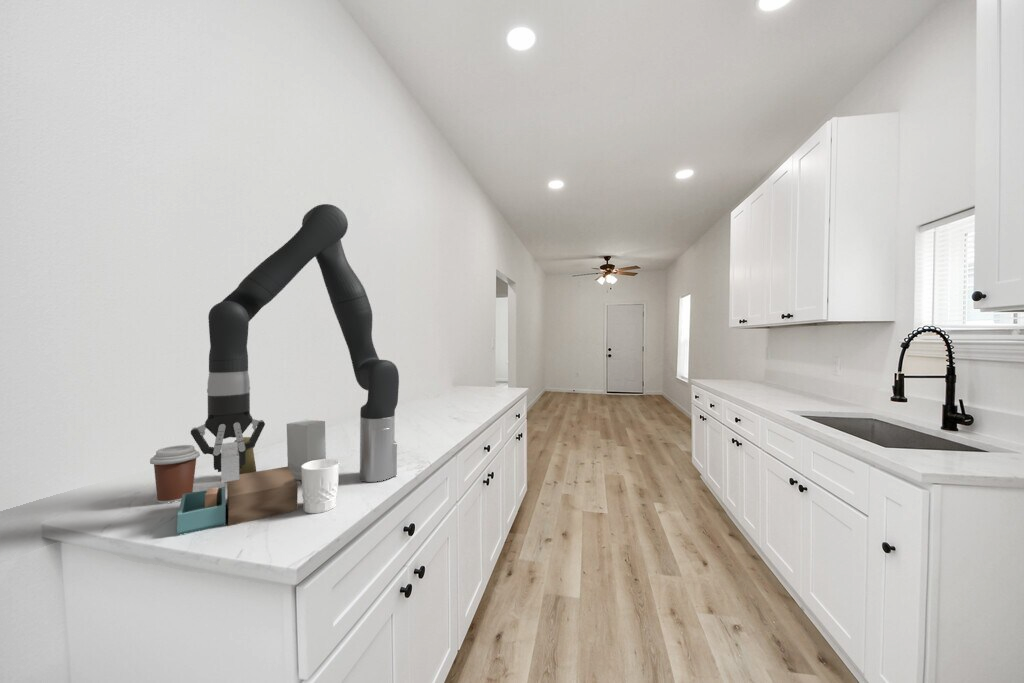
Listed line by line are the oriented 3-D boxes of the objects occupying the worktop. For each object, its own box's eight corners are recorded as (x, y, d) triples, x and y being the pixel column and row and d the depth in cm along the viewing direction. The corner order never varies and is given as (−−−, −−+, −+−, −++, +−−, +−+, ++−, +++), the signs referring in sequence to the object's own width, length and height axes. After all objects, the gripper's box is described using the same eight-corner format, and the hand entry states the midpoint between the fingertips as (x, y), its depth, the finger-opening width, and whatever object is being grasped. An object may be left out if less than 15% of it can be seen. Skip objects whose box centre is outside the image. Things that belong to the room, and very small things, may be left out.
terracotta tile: (218, 487, 87) (207, 489, 86) (216, 493, 84) (205, 495, 83) (218, 504, 87) (207, 506, 86) (216, 511, 84) (204, 513, 83)
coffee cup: (179, 489, 97) (180, 442, 98) (208, 492, 96) (209, 444, 96) (138, 504, 88) (139, 452, 89) (169, 507, 87) (170, 455, 87)
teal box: (224, 503, 89) (224, 486, 89) (225, 524, 79) (225, 505, 79) (182, 512, 85) (182, 494, 85) (177, 535, 74) (177, 515, 74)
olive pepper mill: (243, 481, 103) (243, 441, 103) (225, 479, 105) (225, 439, 105) (262, 474, 109) (262, 435, 109) (244, 472, 110) (245, 434, 111)
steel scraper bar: (237, 462, 91) (237, 441, 91) (239, 479, 80) (239, 455, 80) (221, 465, 89) (221, 443, 89) (221, 482, 78) (221, 458, 78)
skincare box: (326, 475, 109) (327, 420, 109) (306, 482, 103) (306, 425, 103) (306, 471, 112) (307, 418, 112) (285, 478, 106) (285, 422, 106)
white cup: (292, 511, 85) (293, 466, 85) (321, 498, 93) (322, 457, 93) (318, 517, 82) (319, 471, 82) (346, 503, 90) (347, 461, 90)
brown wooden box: (287, 489, 98) (288, 466, 98) (297, 510, 86) (297, 483, 86) (227, 501, 90) (227, 476, 90) (228, 525, 78) (228, 496, 78)
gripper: (265, 387, 92) (265, 459, 92) (189, 392, 83) (189, 471, 83) (268, 391, 86) (268, 467, 86) (186, 396, 77) (187, 481, 77)
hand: (229, 468), depth 85 cm, fingers closed on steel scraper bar, 3 cm apart
